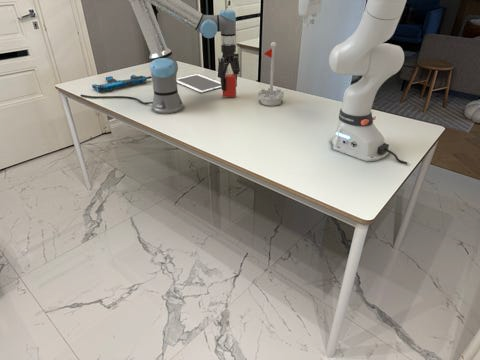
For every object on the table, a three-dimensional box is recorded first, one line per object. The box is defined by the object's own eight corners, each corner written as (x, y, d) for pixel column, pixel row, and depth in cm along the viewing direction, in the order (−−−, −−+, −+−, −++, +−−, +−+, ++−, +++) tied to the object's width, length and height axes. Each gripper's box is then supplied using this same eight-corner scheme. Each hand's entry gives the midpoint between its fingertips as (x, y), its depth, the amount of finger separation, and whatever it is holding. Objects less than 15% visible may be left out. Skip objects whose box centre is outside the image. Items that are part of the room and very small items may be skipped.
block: (223, 93, 189) (223, 74, 183) (236, 93, 188) (236, 74, 182) (222, 96, 184) (222, 76, 178) (235, 96, 184) (235, 77, 178)
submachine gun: (137, 69, 223) (155, 75, 206) (138, 75, 224) (156, 82, 208) (84, 79, 204) (100, 87, 187) (86, 86, 206) (101, 94, 189)
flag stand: (276, 96, 187) (279, 38, 170) (287, 104, 177) (292, 43, 160) (254, 99, 183) (255, 40, 167) (264, 107, 173) (267, 45, 156)
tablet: (171, 80, 212) (171, 79, 212) (198, 74, 223) (197, 73, 223) (200, 93, 192) (200, 92, 192) (228, 85, 203) (228, 85, 203)
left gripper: (235, 39, 181) (236, 82, 193) (208, 46, 167) (211, 91, 179) (246, 41, 177) (246, 84, 189) (220, 48, 163) (221, 94, 175)
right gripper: (313, -12, 153) (309, 21, 160) (297, -9, 137) (294, 28, 145) (326, -12, 150) (322, 22, 158) (312, -9, 135) (308, 29, 143)
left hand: (229, 88), depth 184 cm, fingers closed on block, 8 cm apart
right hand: (308, 25), depth 151 cm, fingers open, 8 cm apart
